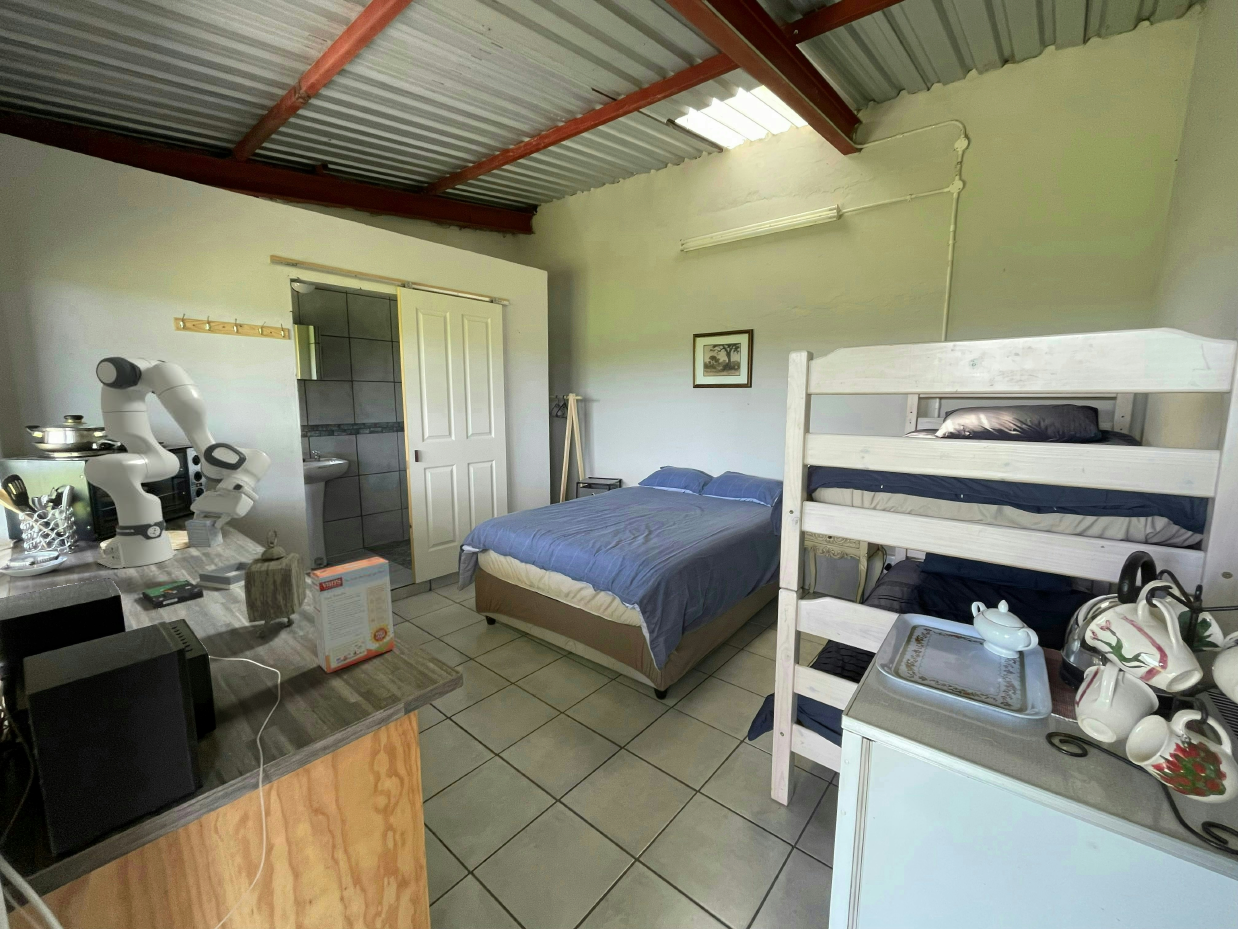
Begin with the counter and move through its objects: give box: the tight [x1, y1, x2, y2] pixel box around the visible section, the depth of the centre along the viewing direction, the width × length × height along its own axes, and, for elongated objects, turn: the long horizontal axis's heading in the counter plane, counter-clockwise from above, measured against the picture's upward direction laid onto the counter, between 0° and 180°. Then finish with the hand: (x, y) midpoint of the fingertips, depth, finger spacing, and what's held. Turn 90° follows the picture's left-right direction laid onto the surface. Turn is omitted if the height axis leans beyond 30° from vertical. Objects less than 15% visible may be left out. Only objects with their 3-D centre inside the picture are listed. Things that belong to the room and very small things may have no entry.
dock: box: [195, 560, 252, 590], centre depth 154 cm, size 14×14×4 cm
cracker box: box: [310, 556, 395, 674], centre depth 105 cm, size 14×6×21 cm, turn 138°
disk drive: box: [141, 579, 205, 610], centre depth 140 cm, size 10×3×15 cm
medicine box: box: [184, 517, 224, 548], centre depth 156 cm, size 8×4×9 cm, turn 83°
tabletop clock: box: [243, 528, 307, 639], centre depth 120 cm, size 14×9×25 cm, turn 21°
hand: (204, 525), depth 156 cm, fingers closed on medicine box, 8 cm apart
